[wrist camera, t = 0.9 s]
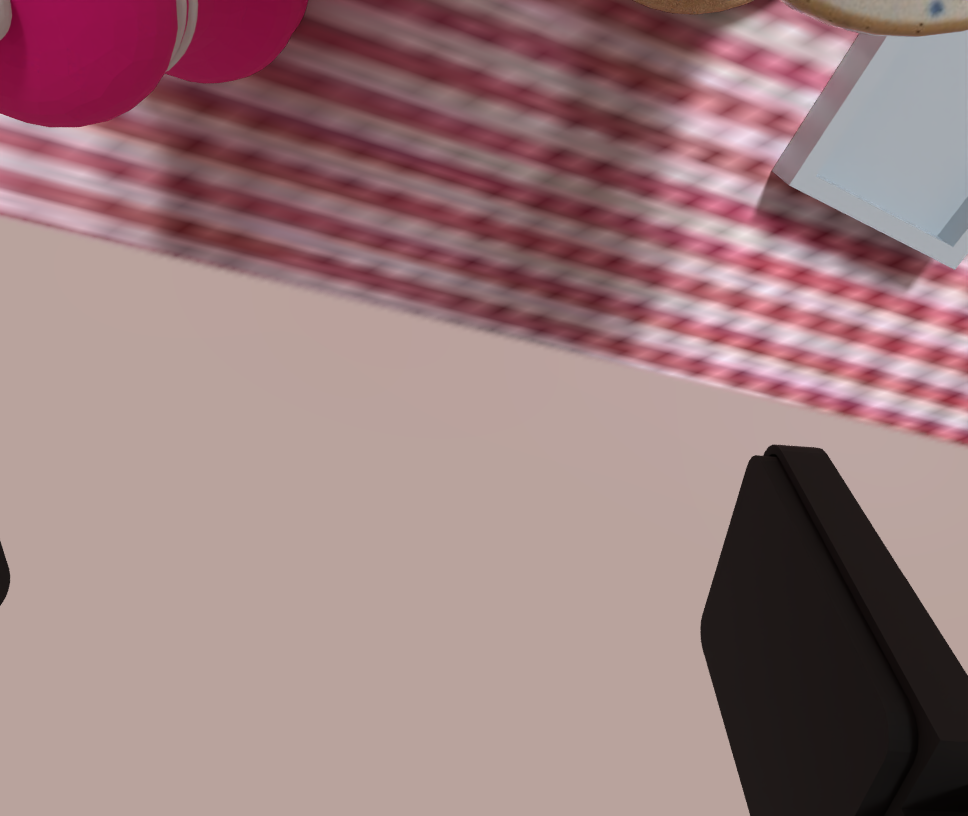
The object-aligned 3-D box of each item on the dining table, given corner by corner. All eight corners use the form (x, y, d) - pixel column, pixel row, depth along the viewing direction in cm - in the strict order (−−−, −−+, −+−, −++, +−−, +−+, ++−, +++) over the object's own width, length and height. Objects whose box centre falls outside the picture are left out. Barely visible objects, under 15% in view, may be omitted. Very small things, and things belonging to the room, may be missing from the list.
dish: (954, -117, 30) (989, -121, 28) (1129, -6, 32) (1174, -3, 30) (771, 170, 36) (789, 185, 34) (928, 251, 38) (954, 269, 36)
